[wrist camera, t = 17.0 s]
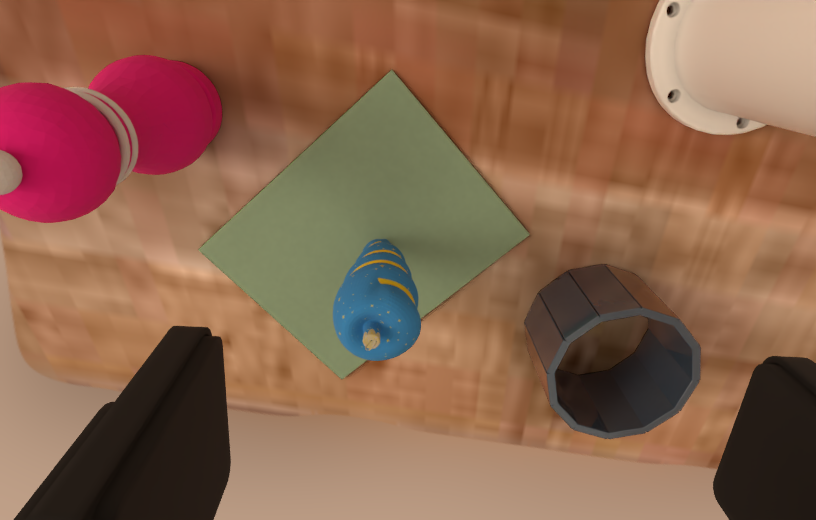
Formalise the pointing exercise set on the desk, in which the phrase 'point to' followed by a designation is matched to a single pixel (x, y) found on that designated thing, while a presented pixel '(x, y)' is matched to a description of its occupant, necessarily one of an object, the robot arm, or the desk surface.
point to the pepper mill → (100, 134)
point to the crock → (627, 381)
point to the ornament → (377, 304)
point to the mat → (364, 218)
